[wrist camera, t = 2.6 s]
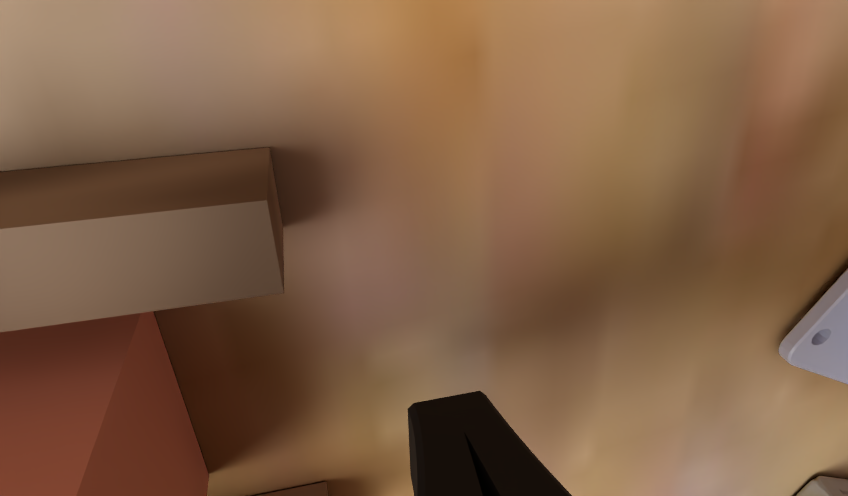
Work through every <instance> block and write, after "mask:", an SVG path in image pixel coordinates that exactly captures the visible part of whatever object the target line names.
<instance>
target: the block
mask: <svg viewBox="0 0 848 496" xmlns="http://www.w3.org/2000/svg"><path fill="white" fill-rule="evenodd" d="M208 481H209V474H208V471H207V468H206V465H205V462H204V459H203V456H202V453H201V451H200V448H199V445H198V442H197V439H196V436H195V433H194V430H193V427H192V424H191V421H190V418H189V415H188V412H187V409H186V406H185V403H184V400H183V398H182V395H181V392H180V389H179V386H178V383H177V380H176V377H175V374H174V371H173V368H172V365H171V362H170V359H169V356H168V353H167V350H166V348H165V345H164V342H163V339H162V336H161V333H160V330H159V327H158V324H157V321H156V318H155V315H154V312H153V311H151V312H144V313H136V314H129V315H122V316H115V317H108V318H100V319H93V320H86V321H79V322H71V323H64V324H57V325H50V326H43V327H35V328H28V329H21V330H14V331H6V332H0V496H207V488H208Z"/></svg>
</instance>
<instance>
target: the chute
mask: <svg viewBox="0 0 848 496" xmlns="http://www.w3.org/2000/svg"><path fill="white" fill-rule="evenodd" d="M281 293H284V260H283V224H282V218H281V212H280V206H279V201H278V195H277V189H276V183H275V177H274V171H273V165H272V159H271V154H270V148H269V147H268V148H257V149H246V150H235V151H224V152H213V153H202V154H191V155H180V156H169V157H158V158H147V159H137V160H126V161H115V162H104V163H93V164H82V165H71V166H60V167H49V168H38V169H27V170H16V171H5V172H0V332H6V331H14V330H21V329H28V328H35V327H43V326H50V325H57V324H64V323H71V322H79V321H86V320H93V319H100V318H108V317H115V316H122V315H129V314H136V313H144V312H151V311H158V310H165V309H173V308H180V307H187V306H194V305H202V304H209V303H216V302H223V301H230V300H238V299H245V298H252V297H259V296H267V295H274V294H281ZM257 496H329V495H328V489H327V483H326V482H322V483H317V484H312V485H307V486H302V487H297V488H292V489H287V490H282V491H277V492H272V493H267V494H262V495H257Z"/></svg>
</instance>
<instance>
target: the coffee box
mask: <svg viewBox="0 0 848 496" xmlns="http://www.w3.org/2000/svg"><path fill="white" fill-rule="evenodd" d="M796 496H848V479H840V478H833V477H826V476H818V477H817V478H815V479H813V480H811V481H810V482H809V483H808V484H807V485H806V486H805V487H804V488H803V489H802V490H801V491H800V492H799V493H798V494H797V495H796Z"/></svg>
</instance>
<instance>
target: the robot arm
mask: <svg viewBox="0 0 848 496" xmlns="http://www.w3.org/2000/svg"><path fill="white" fill-rule="evenodd" d="M779 355H780V356H781V357H783V358H784V359H785V360H786V361H787V362H788V363H790V364H791V365H793V366H796V367H799V368H801V369H804V370H807V371H810V372H813V373H816V374H819V375H822V376H825V377H828V378H831V379H834V380H837V381H840V382H843V383H846V384H848V268H847V270H846V271H845V272H844V273H843V274H842V275H841V276H840V277H839V278H838V279H837V281H836V282H835V283H834V284H833V285H832V286H831V287H830V288H829V289H828V290H827V292H826V293H825V294H824V295H823V296H822V297H821V298H820V299H819V300H818V301H817V302H816V304H815V305H814V306H813V307H812V308H811V309H810V310H809V311H808V312H807V313H806V315H805V316H804V317H803V318H802V319H801V320H800V321H799V322H798V323H797V324H796V326H795V327H794V328H793V329H792V330H791V331H790V332H789V333H788V334H787V335H786V337H785V338H784V339H783V340H782V342H781V343H780V346H779ZM408 424H409V447H410V469H411V479H412V484H413V490H414V496H572V495H571V494H570V493H569V492H568V491H567V490H566V489H565V488H564V487H563V486H562V485H561V483H560V482H559V481H558V480H557V479H556V478H555V477H554V476H553V475H552V474H551V473H550V472H549V471H548V469H547V468H546V467H545V466H544V465H543V464H542V463H541V462H540V461H539V460H538V458H537V457H536V456H535V455H534V454H533V453H532V452H531V450H530V449H529V448H528V447H527V446H526V445H525V443H524V442H523V441H522V440H521V439H520V438H519V436H518V435H517V434H516V433H515V432H514V430H513V429H512V428H511V427H510V426H509V424H508V423H507V422H506V421H505V419H504V418H503V417H502V416H501V414H500V413H499V412H498V411H497V409H496V408H495V407H494V406H493V404H492V403H491V402H490V400H489V399H488V398H487V396H486V395H485V394H484V393H482V392H481V391H476V392H471V393H466V394H460V395H455V396H449V397H444V398H439V399H433V400H428V401H422V402H417V403H414V404H412V405H411V406H410V407H409V408H408Z"/></svg>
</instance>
